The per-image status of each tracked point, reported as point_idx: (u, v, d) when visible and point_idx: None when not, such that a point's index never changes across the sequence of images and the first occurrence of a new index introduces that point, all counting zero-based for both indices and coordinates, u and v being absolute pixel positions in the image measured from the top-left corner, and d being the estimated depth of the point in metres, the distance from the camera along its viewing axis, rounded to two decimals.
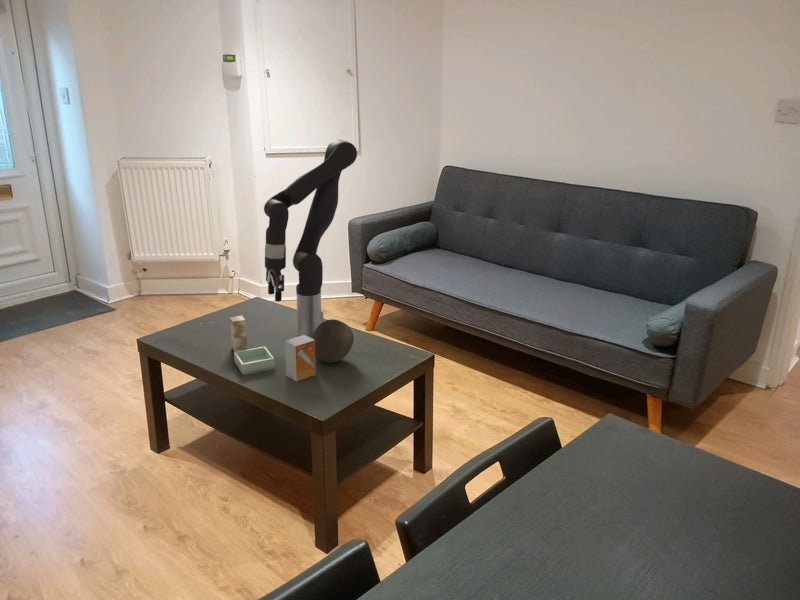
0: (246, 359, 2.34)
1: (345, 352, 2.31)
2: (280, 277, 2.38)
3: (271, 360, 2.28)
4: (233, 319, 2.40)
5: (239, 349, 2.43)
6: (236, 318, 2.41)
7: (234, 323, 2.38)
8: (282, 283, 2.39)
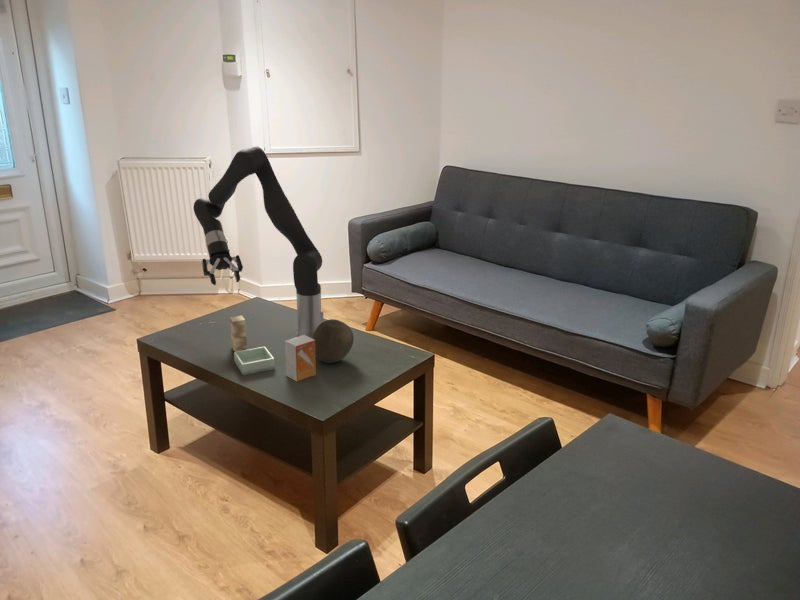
0: (246, 359, 2.34)
1: (345, 352, 2.31)
2: (202, 262, 2.48)
3: (271, 360, 2.28)
4: (233, 319, 2.40)
5: (239, 349, 2.43)
6: (236, 318, 2.41)
7: (234, 323, 2.38)
8: (203, 266, 2.47)
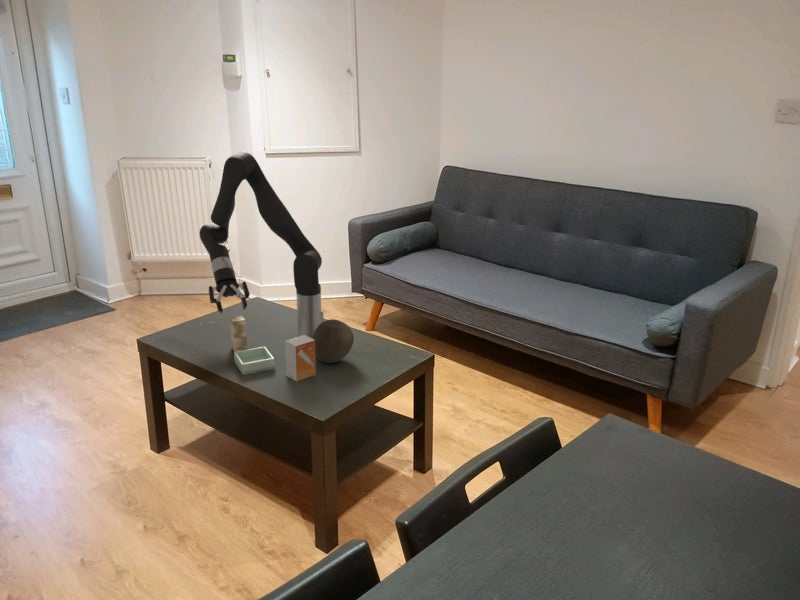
0: (246, 359, 2.34)
1: (345, 352, 2.31)
2: (208, 289, 2.46)
3: (271, 360, 2.28)
4: (233, 319, 2.40)
5: (239, 349, 2.43)
6: (236, 318, 2.41)
7: (234, 323, 2.38)
8: (209, 294, 2.44)
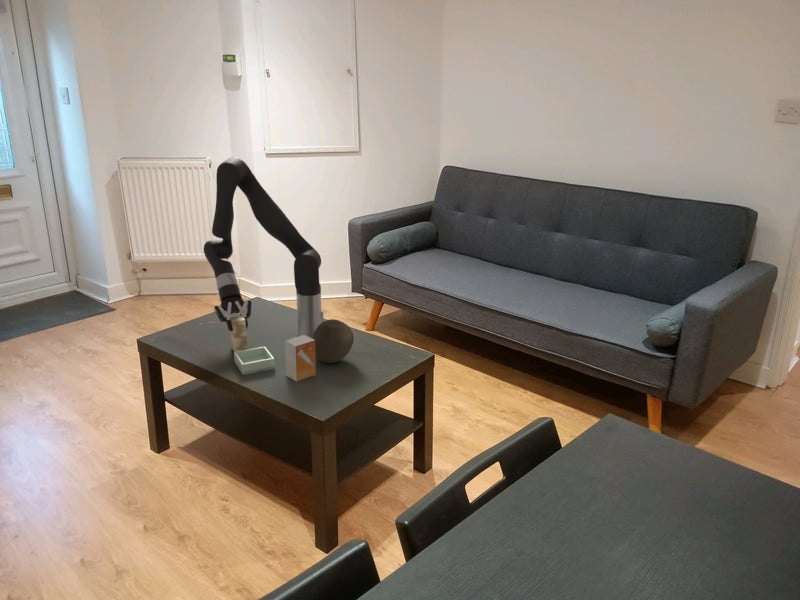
0: (246, 359, 2.34)
1: (345, 352, 2.31)
2: (214, 309, 2.42)
3: (271, 360, 2.28)
4: (233, 319, 2.40)
5: (239, 349, 2.43)
6: (236, 318, 2.41)
7: (234, 323, 2.38)
8: (217, 313, 2.41)
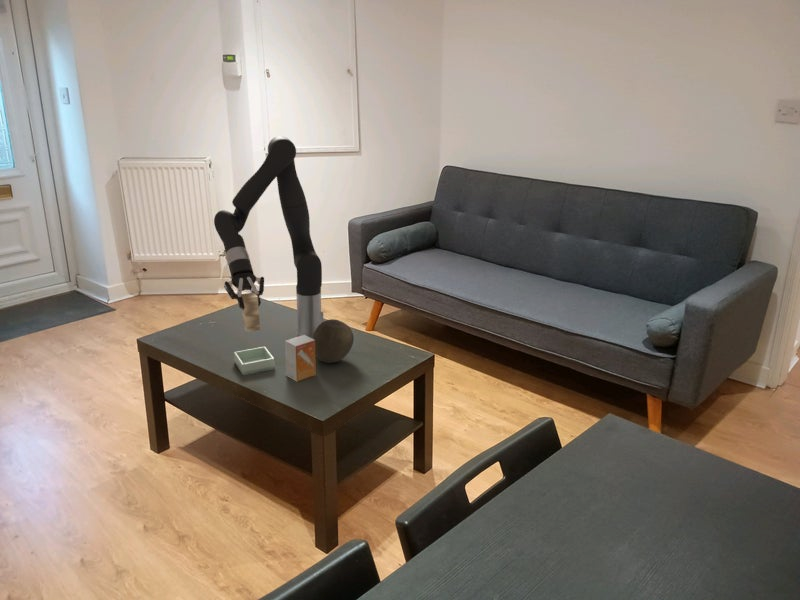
0: (246, 359, 2.34)
1: (345, 352, 2.31)
2: (224, 285, 2.24)
3: (271, 360, 2.28)
4: (244, 296, 2.22)
5: (251, 328, 2.25)
6: (247, 295, 2.23)
7: (246, 300, 2.21)
8: (228, 290, 2.23)
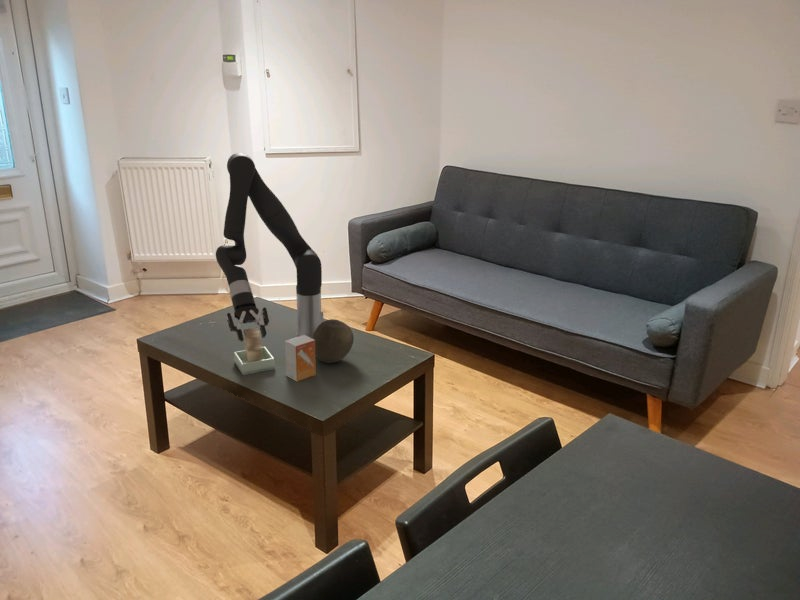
0: None
1: (345, 352, 2.31)
2: (226, 316, 2.28)
3: (271, 360, 2.28)
4: (247, 331, 2.27)
5: None
6: (250, 330, 2.28)
7: (248, 336, 2.25)
8: (228, 321, 2.27)
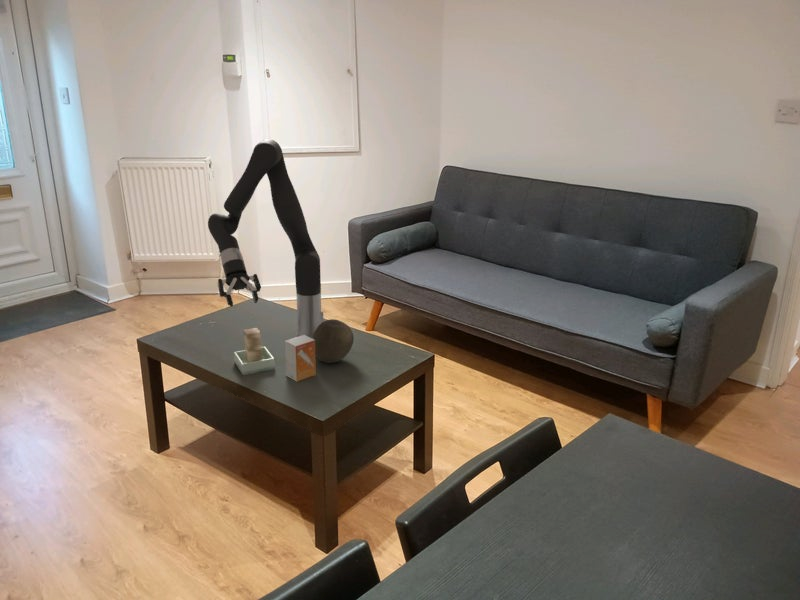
0: None
1: (345, 352, 2.31)
2: (218, 282, 2.33)
3: (271, 360, 2.28)
4: (247, 332, 2.27)
5: None
6: (250, 330, 2.28)
7: (249, 336, 2.25)
8: (219, 287, 2.32)
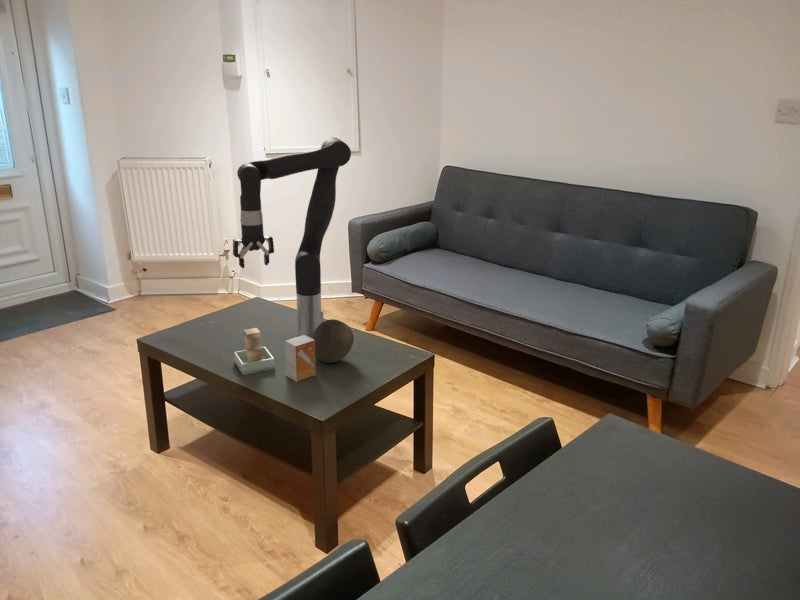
0: None
1: (345, 352, 2.31)
2: (233, 241, 2.33)
3: (271, 360, 2.28)
4: (247, 332, 2.27)
5: None
6: (250, 330, 2.28)
7: (249, 336, 2.25)
8: (234, 248, 2.34)
